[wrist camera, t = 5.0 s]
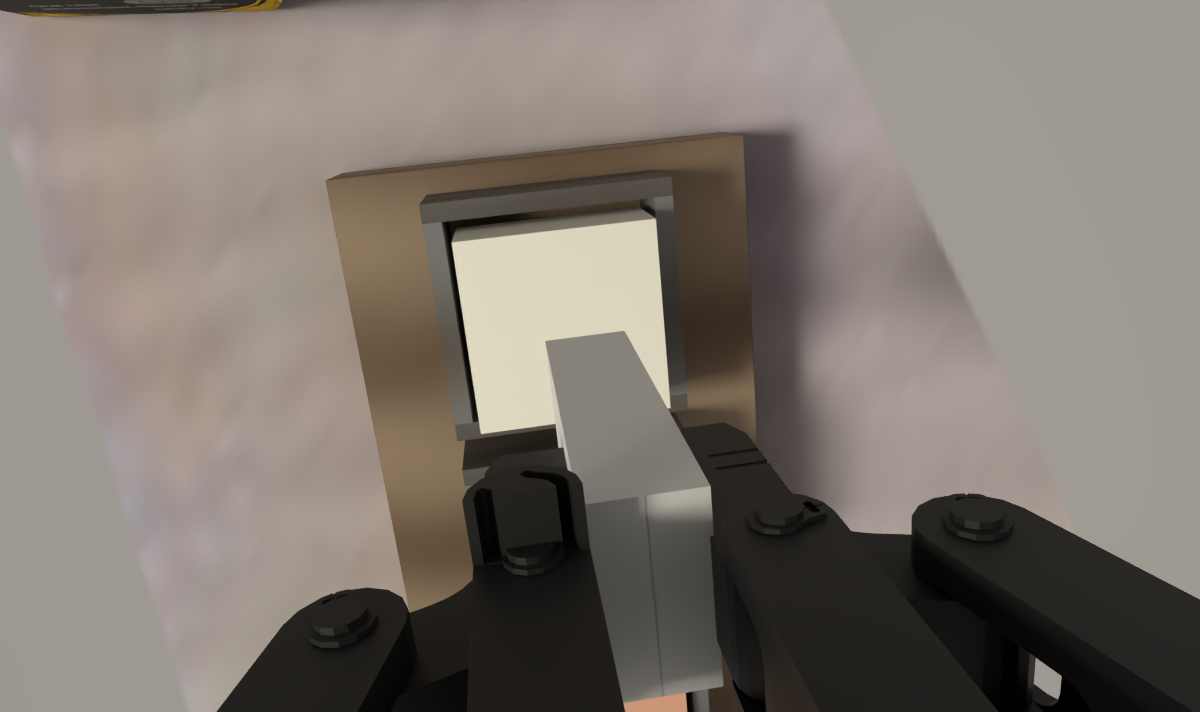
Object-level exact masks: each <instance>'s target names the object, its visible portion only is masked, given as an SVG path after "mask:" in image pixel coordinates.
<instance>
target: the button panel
mask: <svg viewBox="0 0 1200 712" xmlns="http://www.w3.org/2000/svg"><path fill="white" fill-rule="evenodd" d="M326 186H327V191H328V196H329V201H330V206H331V211H332V216H333V222H334V227H335V232H336V237H337V242H338V247H339V252H340V257H341V263H342V268H343V273H344V278H345V283H346V288H347V293H348V298H349V304H350V309H351V314H352V319H353V324H354V329H355V334H356V339H357V345H358V350H359V355H360V360H361V365H362V370H363V375H364V380H365V386H366V391H367V396H368V401H369V406H370V411H371V416H372V421H373V427H374V432H375V437H376V442H377V447H378V452H379V457H380V462H381V468H382V473H383V478H384V483H385V488H386V493H387V498H388V503H389V509H390V514H391V519H392V524H393V529H394V534H395V539H396V544H397V550H398V555H399V560H400V565H401V570H402V575H403V580H404V585H405V591H406V596H407V601H408V606H409V611H410V612H413V611H416V610H419V609H421V608H424V607H427V606H430V605H432V604H435V603H437V602H439V601H442V600H444V599H446V598H448V597H450V596H452V595H453V594H455V593H456V592H458V591H460V590H461V589H463V588H464V587H465V586H466V585H467V584H468V583H469V582H470V581H471V580H473V563H472V557H471V551H470V545H469V539H468V533H467V527H466V522H465V516H464V510H463V504H462V500H463V498H464V495H465V493H466V491H467V489H469V488H470V487H471V486H473V485H474V484H475V483H476V482H478V481H479V480H480V479H482V478H485V472H486V471H487V470H488V468H489V467H490V466H491V465H492V464H493V463H494V461H495V460H496V459H497V458H498V457H499V456H505V455H512V454H519V453H527V452H534V451H541V450H548V449H555V448H558V440H557V432H556V424H551V425H544V426H536V427H529V428H522V429H514V430H507V431H500V432H493V433H485V434H481V432H480V425H479V419H478V412H477V405H476V399H475V392H474V386H473V379H472V373H471V366H470V360H469V353H468V347H467V340H466V334H465V327H464V321H463V314H462V308H461V301H460V295H459V288H458V282H457V275H456V269H455V262H454V256H453V249H452V240H453V236H454V233H455V230H456V228H460V227H469V226H478V225H486V224H495V223H504V222H512V221H521V220H530V219H538V218H547V217H556V216H564V215H573V214H582V213H590V212H599V211H608V210H616V209H625V208H634V207H640V208H641V209H643V210H644V211H646V212H647V213H649V214H650V215H651V216H653V217H654V218H656V227H657V240H658V253H659V265H660V278H661V291H662V304H663V317H664V330H665V343H666V355H667V368H668V381H669V394H670V407H671V408H668V410H669V412H670V414H671V416H672V417H673V419H674V421H675V423H676V425H677V426H678V428H679V429H680V428H687V427H694V426H701V425H708V424H715V423H722V422H725V423H727V424H729V425H731V426H733V427H735V428H737V429H739V430H741V431H743V432H745V433H747V434H748V436H749V437H750V438H751V440H752V441H753V442H754V444H755V445H756V446H757V432H756V410H755V388H754V365H753V343H752V321H751V298H750V276H749V254H748V231H747V209H746V187H745V164H744V142H743V135H739V134H731V133H722V132H720V133H711V134H701V135H692V136H683V137H674V138H664V139H655V140H646V141H637V142H628V143H618V144H609V145H600V146H591V147H582V148H572V149H563V150H554V151H545V152H535V153H526V154H517V155H508V156H499V157H489V158H480V159H471V160H462V161H452V162H443V163H434V164H425V165H416V166H406V167H397V168H388V169H379V170H370V171H360V172H351V173H342V174H339V175H337V176H335V177H332V178H330V179H328V180H326ZM721 656H722V672H723V687H717V688H711V689H705V690H699V691H693V692H687V693H686V703H687V712H734V709H733V693H732V676H731V674H730V671H729V669H728V666H727V664H726V662H725V659H724V657H723V654H722V652H721Z"/></svg>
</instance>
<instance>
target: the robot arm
mask: <svg viewBox="0 0 1200 712" xmlns="http://www.w3.org/2000/svg"><path fill="white" fill-rule="evenodd" d="M545 344H546V352H547V360H548V368H549V376H550V384H551V392H552V400H553V408H554V416H555V424H556V432H557V440H558V448H555V449H548V450H541V451H534V452H527V453H519V454H512V455H505V456H499V457H498V458H497V459H496V460H495V461H494V463H493V464H492V465H491V466H490V467H489V468H488V470H487V471H486V472H485V478H482V479H480V480H479V481H478V482H476V483H475V484H474V485H473V486H471V487H470V488H469V489H467V491H466V493H465V495H464V498H463V500H462V504H463V510H464V516H465V522H466V527H467V533H468V539H469V545H470V551H471V557H472V563H473V580H471V581H470V582H469V583H468V584H467V585H466V586H465V587H464V588H463V589H461V590H460V591H458V592H456V593H455V594H453V595H452V596H450V597H448V598H446V599H444V600H442V601H439V602H437V603H435V604H432V605H430V606H427V607H424V608H421V609H419V610H416V611H413V612H410V613H409V610H408V608H407V606H406V604H405V602H404V600H403V598H402V597H400V596H398V595H396V594H395V593H393V592H391V591H389V590H383V589H374V588H362V589H354V590H344V591H339V592H335V593H336V594H330V595H327V596H325V597H322V598H320V599H319V600H317V601H315V602H313V603H312V604H310V605H308V606H306V607H305V608H303V609H301V610H299V611H298V612H297V613H296V614H295V615H294V616H292V617H291V618H290V619H289V620H288V621H287V622H286V623H285V624H284V625H283V626H282V627H281V628H280V630H279V631H278V632H277V634H276V635H275V636H274V638H273V639H272V640H271V642H270V643H269V644H268V645H267V647H266V648H265V649H264V651H263V652H262V653H261V655H260V656H259V657H258V659H257V660H256V661H255V662H254V664H253V665H252V666H251V668H250V669H249V670H248V672H247V673H246V674H245V675H244V677H243V678H242V679H241V681H240V682H239V683H238V685H237V686H236V687H235V689H234V690H233V691H232V692H231V694H230V695H229V696H228V698H227V699H226V700H225V702H224V703H223V704H222V706H221V707H220V708H219V709H218V711H217V712H625V708H624V703H628V702H634V701H640V700H646V699H651V698H657V697H663V696H669V695H675V694H681V693H687V692H693V691H699V690H705V689H711V688H717V687H723V672H722V656H721V652H722V654H723V657H724V659H725V662H726V664H727V666H728V669H729V671H730V674H731V676H732V693H733V709H734V712H1200V600H1199V599H1198V598H1196V597H1193V596H1192V595H1190V594H1188V593H1186V592H1184V591H1182V590H1180V589H1178V588H1176V587H1174V586H1173V585H1170V584H1168V583H1167V582H1165V581H1163V580H1161V579H1159V578H1157V577H1155V576H1153V575H1151V574H1149V573H1148V572H1145V571H1144V570H1142V569H1140V568H1138V567H1136V566H1134V565H1132V564H1130V563H1128V562H1126V561H1124V560H1123V559H1121V558H1118V557H1117V556H1115V555H1113V554H1111V553H1109V552H1107V551H1105V550H1103V549H1101V548H1099V547H1097V546H1096V545H1094V544H1092V543H1090V542H1088V541H1086V540H1084V539H1082V538H1080V537H1078V536H1076V535H1075V534H1073V533H1071V532H1069V531H1067V530H1065V529H1063V528H1061V527H1059V526H1057V525H1055V524H1053V523H1051V522H1050V521H1048V520H1046V519H1044V518H1042V517H1040V516H1038V515H1036V514H1034V513H1032V512H1030V511H1028V510H1027V509H1025V508H1022V507H1020V506H1017V505H1014V504H1012V503H1009V502H1007V501H1004V500H1001V499H995V498H990V497H985V496H984V495H980V494H968V495H965V494H953V495H950V496H944V497H939V498H933V499H931V500H929V501H927V502H925V503H923V504H921V505H919V506H918V507H917V509H916V510H915V512H914V513H913V515H912V535H905V534H873V533H861V532H853V531H851V530H850V529H849V528H848V527H847V526H846V524H845V523H844V522H843V521H842V519H841V518H840V517H839V516H838V515H837V513H836V512H835V511H834V510H833V509H831V508H830V507H829V506H827V505H826V504H825V503H823V502H822V501H819V500H816V499H813V498H811V497H808V496H805V495H799V494H792V493H791V492H790V490H789V489H788V488H787V486H786V485H785V484H784V482H783V481H782V480H781V478H780V477H779V476H778V474H777V473H776V472H775V470H774V469H773V468H772V466H771V465H770V464H769V463H767V460H766V458H765V457H764V456H763V454H762V453H761V452H760V451H758V448H757V446H756V445H755V444H754V442H753V441H752V440H751V438H750V437H749V436H748V434H747V433H745V432H743V431H741V430H739V429H737V428H735V427H733V426H731V425H729V424H727V423H725V422H722V423H715V424H708V425H701V426H694V427H687V428H680V429H679V428H678V426H677V425H676V423H675V421H674V419H673V417H672V416H671V414H670V412H669V410H668V408H667V407H666V405H665V403H664V401H663V399H662V398H661V396H660V394H659V392H658V390H657V388H656V387H655V385H654V383H653V381H652V379H651V378H650V376H649V374H648V372H647V370H646V369H645V367H644V365H643V363H642V361H641V360H640V358H639V356H638V354H637V352H636V351H635V349H634V347H633V345H632V343H631V342H630V340H629V338H628V336H627V334H626V333H625V331H618V332H610V333H603V334H595V335H587V336H580V337H572V338H564V339H556V340H549V341H545ZM1036 658H1037V659H1039V660H1040V661H1041V662H1043V663H1044V664H1046V665H1047V666H1048V667H1050V668H1051V669H1053V670H1054V671H1055V672H1057V673H1059V674H1060V675H1061V676H1062V680H1061V691H1060V696H1059V699H1056V698H1054V697H1052V696H1050V695H1048V694H1046V693H1045V692H1044V691H1042V690H1041V689H1040V688H1039V687H1037V686H1036V685H1034V673H1035V659H1036Z"/></svg>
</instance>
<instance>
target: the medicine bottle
mask: <svg viewBox="0 0 1200 712" xmlns="http://www.w3.org/2000/svg"><path fill="white" fill-rule="evenodd" d="M281 3H282V0H0V10H2V11H7V12H12V13H17V14H23V15H28V16H33V17H42V16H78V15H114V14H149V13H185V12H220V11H256V10H273V9H276V8H278V7H279V6H280V5H281Z"/></svg>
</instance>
